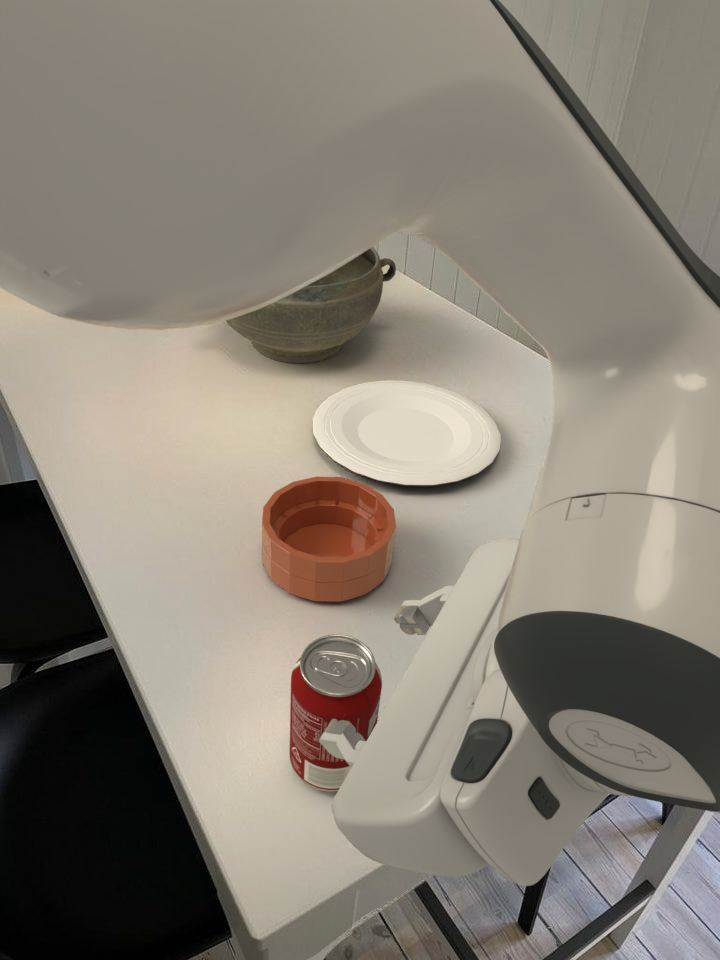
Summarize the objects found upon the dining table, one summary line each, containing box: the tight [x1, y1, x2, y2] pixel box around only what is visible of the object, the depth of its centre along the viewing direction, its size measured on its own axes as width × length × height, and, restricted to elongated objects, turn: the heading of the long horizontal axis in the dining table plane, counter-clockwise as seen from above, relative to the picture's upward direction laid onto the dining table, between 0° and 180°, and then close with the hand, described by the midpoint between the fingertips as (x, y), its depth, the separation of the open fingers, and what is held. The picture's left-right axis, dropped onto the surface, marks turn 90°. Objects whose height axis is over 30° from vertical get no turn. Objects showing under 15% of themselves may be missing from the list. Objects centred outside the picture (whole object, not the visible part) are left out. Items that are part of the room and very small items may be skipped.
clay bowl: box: [261, 476, 397, 602], centre depth 79 cm, size 14×14×6 cm
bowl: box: [225, 246, 397, 364], centre depth 116 cm, size 32×26×15 cm
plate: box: [312, 379, 502, 487], centre depth 100 cm, size 25×25×2 cm
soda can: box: [289, 634, 383, 792], centre depth 58 cm, size 7×7×12 cm
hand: (369, 673), depth 47 cm, fingers open, 8 cm apart
